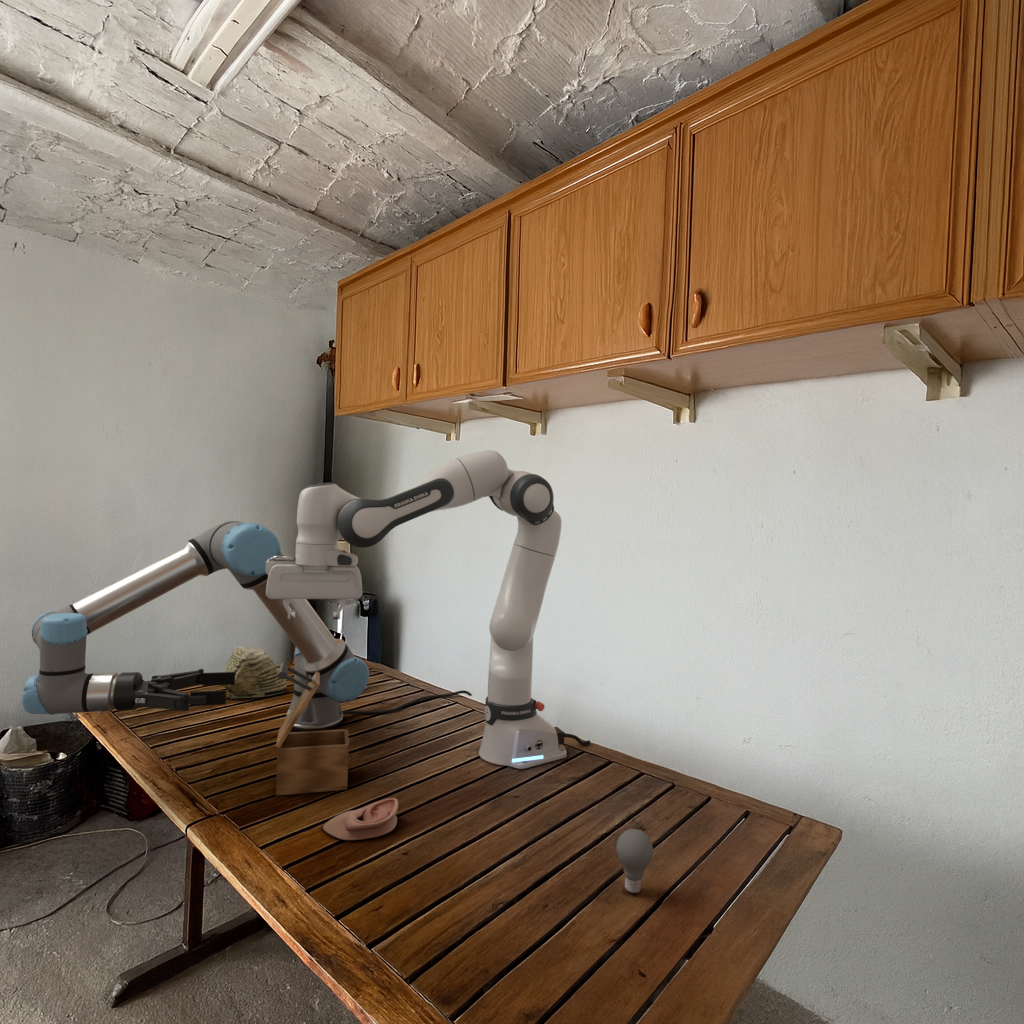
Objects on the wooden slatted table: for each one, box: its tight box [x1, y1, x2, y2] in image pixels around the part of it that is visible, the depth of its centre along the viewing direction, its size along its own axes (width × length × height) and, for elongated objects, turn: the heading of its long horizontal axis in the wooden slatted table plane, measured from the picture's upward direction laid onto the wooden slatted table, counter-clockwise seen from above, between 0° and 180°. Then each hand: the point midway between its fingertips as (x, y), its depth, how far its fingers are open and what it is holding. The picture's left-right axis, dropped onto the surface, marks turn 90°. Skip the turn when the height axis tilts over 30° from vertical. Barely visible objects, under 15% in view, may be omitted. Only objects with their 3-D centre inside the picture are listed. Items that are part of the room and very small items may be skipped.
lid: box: [275, 661, 320, 749], centre depth 138 cm, size 15×10×8 cm
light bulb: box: [615, 828, 654, 894], centre depth 106 cm, size 6×6×10 cm
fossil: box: [223, 646, 288, 699], centre depth 198 cm, size 9×18×15 cm, turn 132°
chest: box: [275, 728, 350, 796], centre depth 140 cm, size 15×10×10 cm, turn 107°
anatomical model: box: [322, 797, 399, 841], centre depth 122 cm, size 13×4×12 cm
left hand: (230, 687), depth 135 cm, fingers open, 13 cm apart
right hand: (314, 619), depth 139 cm, fingers open, 8 cm apart
